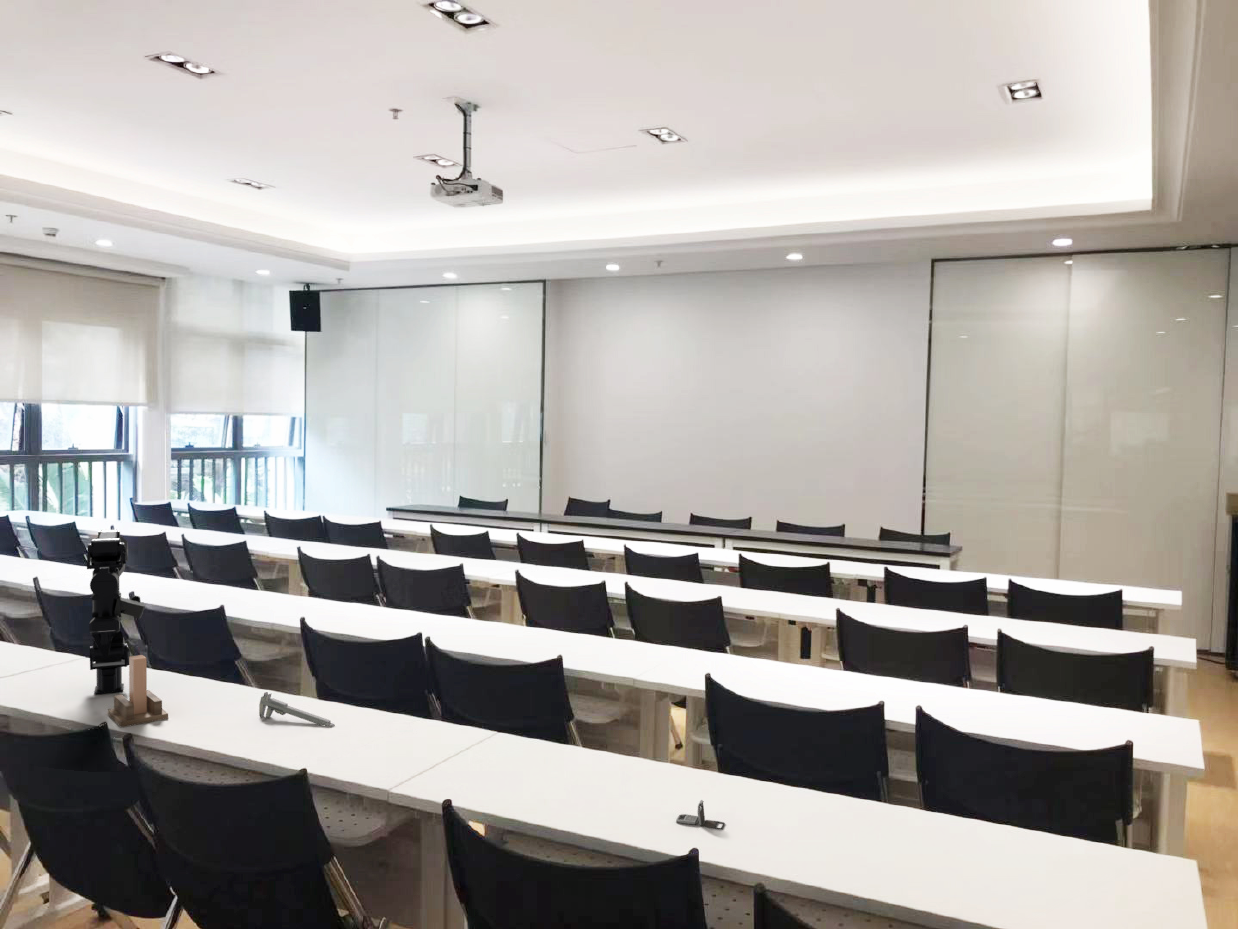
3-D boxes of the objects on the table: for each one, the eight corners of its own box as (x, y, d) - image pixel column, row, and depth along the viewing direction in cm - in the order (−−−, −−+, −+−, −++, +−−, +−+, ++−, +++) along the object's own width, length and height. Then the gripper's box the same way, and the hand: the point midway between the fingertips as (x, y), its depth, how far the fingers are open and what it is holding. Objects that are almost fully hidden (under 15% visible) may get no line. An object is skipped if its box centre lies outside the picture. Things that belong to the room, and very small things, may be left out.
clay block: (129, 710, 218) (129, 656, 218) (142, 708, 220) (142, 654, 220) (133, 714, 216) (133, 659, 215) (146, 712, 218) (146, 657, 217)
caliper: (259, 718, 219) (259, 692, 219) (262, 717, 220) (262, 691, 220) (332, 728, 213) (332, 701, 213) (335, 726, 214) (335, 700, 214)
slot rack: (108, 714, 219) (107, 696, 219) (153, 706, 226) (153, 688, 226) (121, 727, 210) (121, 708, 210) (168, 718, 217) (168, 700, 217)
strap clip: (675, 825, 165) (675, 802, 164) (678, 818, 168) (679, 795, 167) (722, 832, 162) (722, 808, 162) (725, 825, 165) (725, 801, 165)
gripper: (142, 594, 220) (143, 658, 221) (143, 581, 237) (143, 641, 237) (89, 597, 215) (89, 663, 216) (93, 584, 232) (94, 645, 232)
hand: (106, 653), depth 225 cm, fingers open, 9 cm apart
